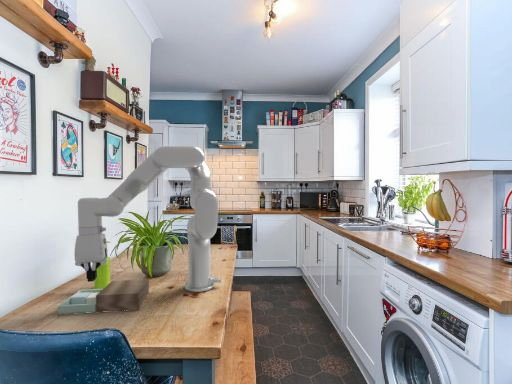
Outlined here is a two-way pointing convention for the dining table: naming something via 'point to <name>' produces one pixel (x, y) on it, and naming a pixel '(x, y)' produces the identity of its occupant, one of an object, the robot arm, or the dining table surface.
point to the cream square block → (91, 298)
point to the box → (77, 305)
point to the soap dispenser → (103, 275)
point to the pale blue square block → (80, 298)
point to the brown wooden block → (122, 295)
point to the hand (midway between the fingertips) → (91, 280)
